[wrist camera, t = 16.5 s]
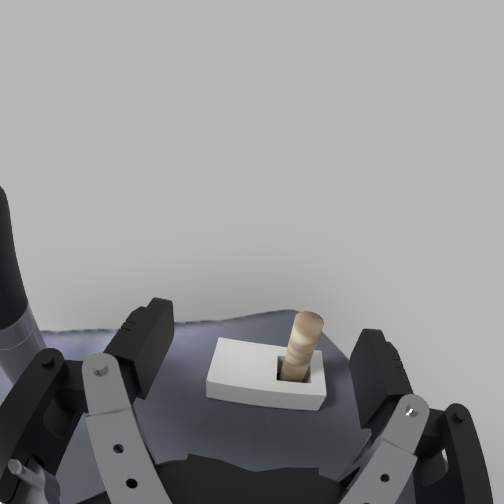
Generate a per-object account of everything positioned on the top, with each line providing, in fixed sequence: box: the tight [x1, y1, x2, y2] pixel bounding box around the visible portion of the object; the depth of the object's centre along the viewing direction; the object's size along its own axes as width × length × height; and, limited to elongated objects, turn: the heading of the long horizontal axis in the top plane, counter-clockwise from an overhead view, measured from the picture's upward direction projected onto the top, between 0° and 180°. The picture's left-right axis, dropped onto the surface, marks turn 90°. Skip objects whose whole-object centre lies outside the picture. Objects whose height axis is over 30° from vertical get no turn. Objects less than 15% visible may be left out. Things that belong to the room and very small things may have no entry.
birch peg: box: [278, 311, 324, 383], centre depth 39 cm, size 4×4×15 cm
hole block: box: [206, 337, 327, 411], centre depth 41 cm, size 18×10×4 cm, turn 84°
